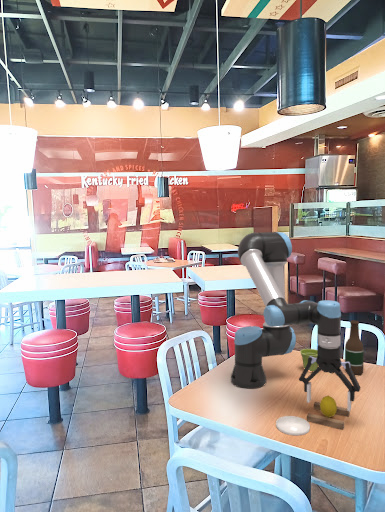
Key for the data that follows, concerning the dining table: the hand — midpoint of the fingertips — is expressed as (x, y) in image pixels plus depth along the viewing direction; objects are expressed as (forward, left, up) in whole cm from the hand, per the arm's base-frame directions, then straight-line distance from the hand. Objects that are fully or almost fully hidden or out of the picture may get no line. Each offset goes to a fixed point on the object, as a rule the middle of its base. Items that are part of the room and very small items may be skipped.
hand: (328, 405), depth 137 cm
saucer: (-9, -12, -5) cm, 16 cm away
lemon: (0, 0, -5) cm, 5 cm away
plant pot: (-17, +42, -5) cm, 46 cm away
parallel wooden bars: (0, 0, -5) cm, 5 cm away
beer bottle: (+1, +48, -5) cm, 48 cm away
